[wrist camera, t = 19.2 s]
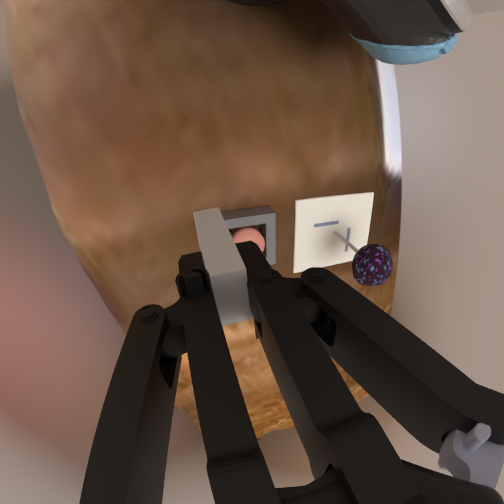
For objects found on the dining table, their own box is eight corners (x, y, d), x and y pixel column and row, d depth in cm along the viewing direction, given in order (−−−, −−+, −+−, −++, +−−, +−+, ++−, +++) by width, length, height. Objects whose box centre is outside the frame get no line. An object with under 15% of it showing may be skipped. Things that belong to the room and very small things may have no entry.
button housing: (212, 214, 45) (216, 221, 42) (268, 206, 47) (275, 212, 44) (218, 264, 49) (221, 273, 47) (269, 255, 51) (275, 263, 49)
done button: (227, 225, 46) (231, 234, 43) (258, 221, 47) (264, 228, 44) (229, 254, 48) (233, 263, 46) (259, 248, 49) (265, 257, 47)
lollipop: (355, 235, 54) (404, 277, 42) (326, 255, 55) (371, 303, 42) (343, 207, 50) (397, 246, 38) (313, 229, 51) (360, 275, 38)
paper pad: (295, 199, 48) (296, 200, 47) (372, 191, 51) (374, 192, 51) (292, 272, 55) (293, 273, 54) (363, 256, 58) (364, 258, 58)
